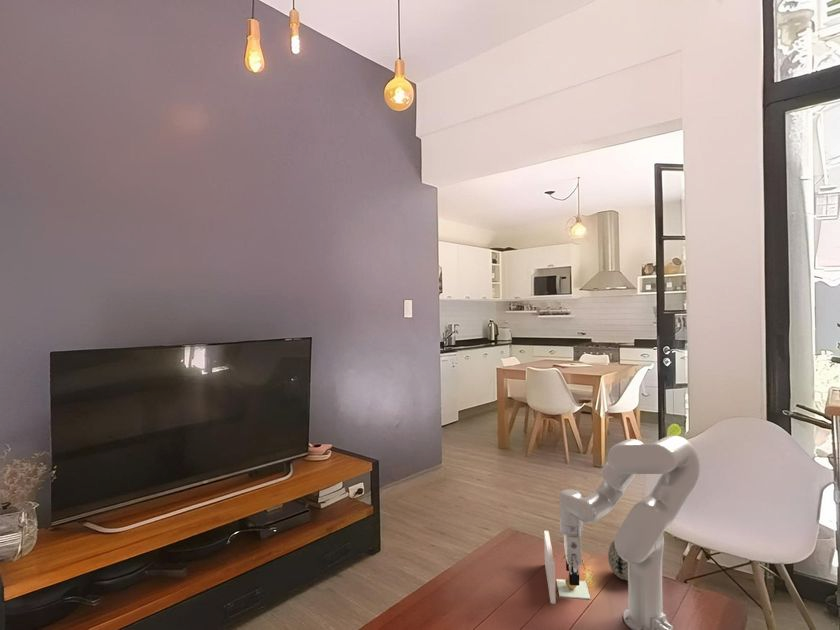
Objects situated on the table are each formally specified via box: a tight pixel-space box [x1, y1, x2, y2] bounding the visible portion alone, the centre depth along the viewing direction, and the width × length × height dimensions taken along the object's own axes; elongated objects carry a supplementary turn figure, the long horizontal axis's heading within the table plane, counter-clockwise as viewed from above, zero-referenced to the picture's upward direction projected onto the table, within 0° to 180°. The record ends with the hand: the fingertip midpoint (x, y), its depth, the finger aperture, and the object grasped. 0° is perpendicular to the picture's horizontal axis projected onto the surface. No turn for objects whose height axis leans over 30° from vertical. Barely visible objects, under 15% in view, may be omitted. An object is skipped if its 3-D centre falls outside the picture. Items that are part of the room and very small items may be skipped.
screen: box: [543, 530, 556, 605], centre depth 168 cm, size 24×2×13 cm, turn 170°
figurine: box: [560, 554, 586, 589], centre depth 165 cm, size 8×6×12 cm
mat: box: [555, 578, 591, 600], centre depth 164 cm, size 10×10×1 cm
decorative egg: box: [607, 539, 628, 582], centre depth 170 cm, size 12×12×15 cm
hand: (572, 577), depth 164 cm, fingers open, 8 cm apart
